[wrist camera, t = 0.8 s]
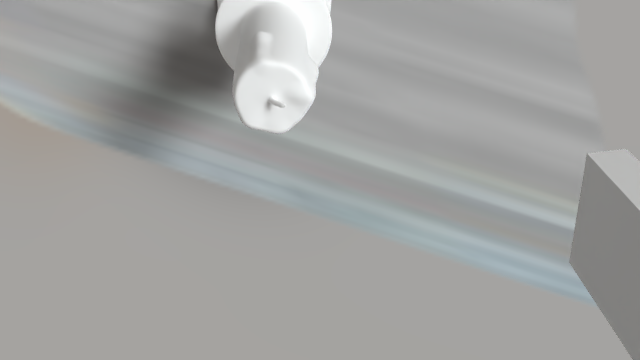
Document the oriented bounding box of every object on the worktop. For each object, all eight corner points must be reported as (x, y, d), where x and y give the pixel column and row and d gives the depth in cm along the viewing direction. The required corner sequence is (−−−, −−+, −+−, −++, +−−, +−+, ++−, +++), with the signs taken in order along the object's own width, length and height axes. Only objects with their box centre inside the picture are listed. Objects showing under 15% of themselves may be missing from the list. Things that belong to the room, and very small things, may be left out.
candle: (328, -63, 26) (359, 11, 16) (333, 52, 29) (361, 177, 19) (209, -56, 26) (164, 24, 16) (225, 59, 29) (195, 189, 19)
